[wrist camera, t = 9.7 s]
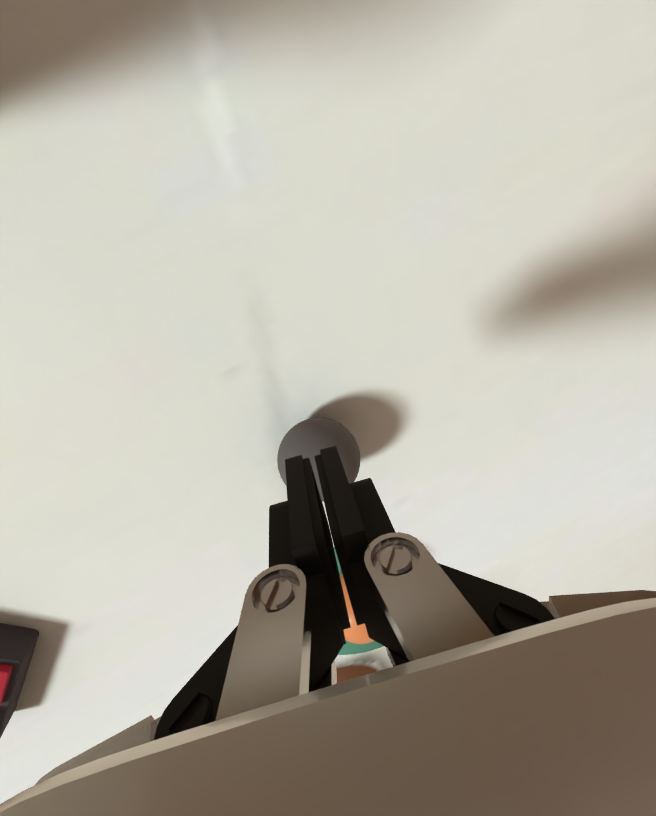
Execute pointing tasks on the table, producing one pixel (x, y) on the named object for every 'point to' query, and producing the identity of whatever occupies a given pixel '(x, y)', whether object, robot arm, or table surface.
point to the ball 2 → (354, 622)
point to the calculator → (13, 666)
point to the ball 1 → (320, 446)
